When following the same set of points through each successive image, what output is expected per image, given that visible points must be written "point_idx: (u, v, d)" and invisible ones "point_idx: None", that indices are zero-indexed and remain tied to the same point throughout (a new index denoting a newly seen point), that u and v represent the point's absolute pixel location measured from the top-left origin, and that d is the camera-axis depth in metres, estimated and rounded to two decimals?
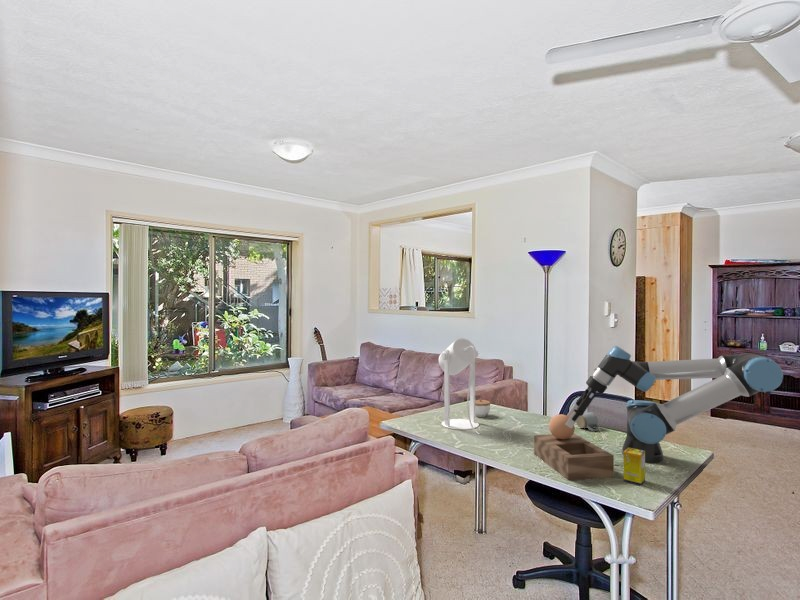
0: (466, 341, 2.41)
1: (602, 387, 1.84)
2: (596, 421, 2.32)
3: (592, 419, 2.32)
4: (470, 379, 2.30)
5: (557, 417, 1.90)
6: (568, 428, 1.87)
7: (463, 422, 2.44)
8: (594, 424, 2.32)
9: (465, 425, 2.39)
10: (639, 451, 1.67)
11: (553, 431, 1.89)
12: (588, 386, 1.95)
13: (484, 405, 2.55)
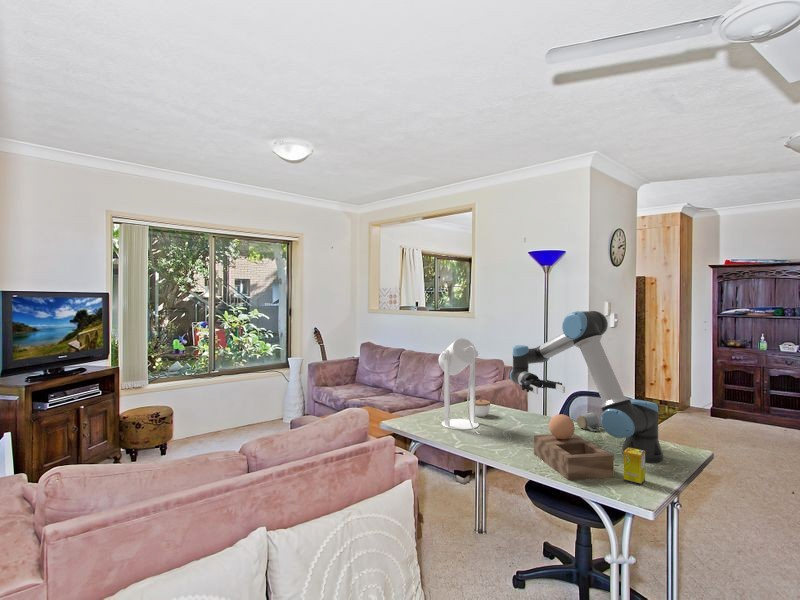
0: (466, 341, 2.41)
1: (523, 377, 2.21)
2: (597, 421, 2.32)
3: (593, 419, 2.31)
4: (470, 379, 2.30)
5: (557, 417, 1.90)
6: (568, 428, 1.87)
7: (463, 422, 2.44)
8: (595, 424, 2.32)
9: (465, 425, 2.39)
10: (639, 451, 1.67)
11: (553, 431, 1.89)
12: None
13: (484, 405, 2.55)
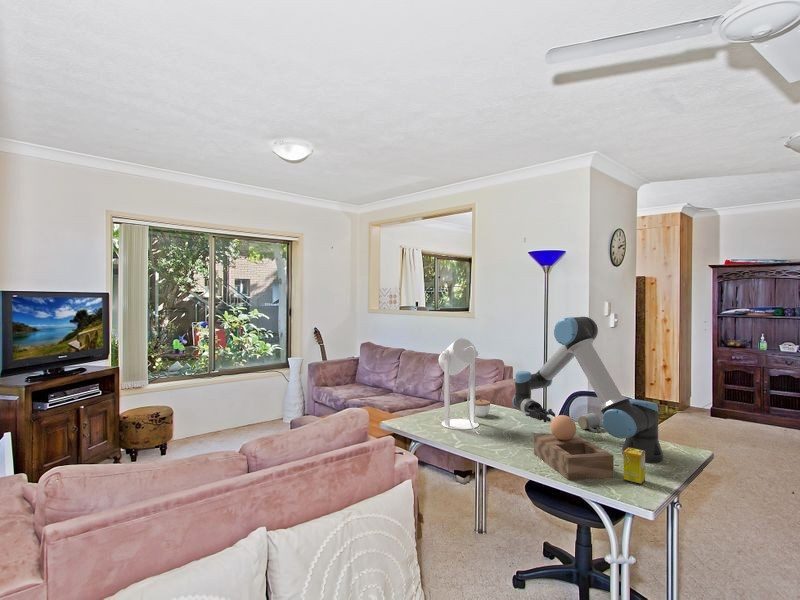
0: (466, 341, 2.41)
1: (526, 405, 2.17)
2: (598, 422, 2.31)
3: (594, 420, 2.31)
4: (470, 379, 2.30)
5: (560, 419, 1.88)
6: (570, 432, 1.85)
7: (463, 422, 2.44)
8: (596, 425, 2.31)
9: (465, 425, 2.39)
10: (639, 451, 1.67)
11: (554, 433, 1.88)
12: None
13: (484, 405, 2.55)
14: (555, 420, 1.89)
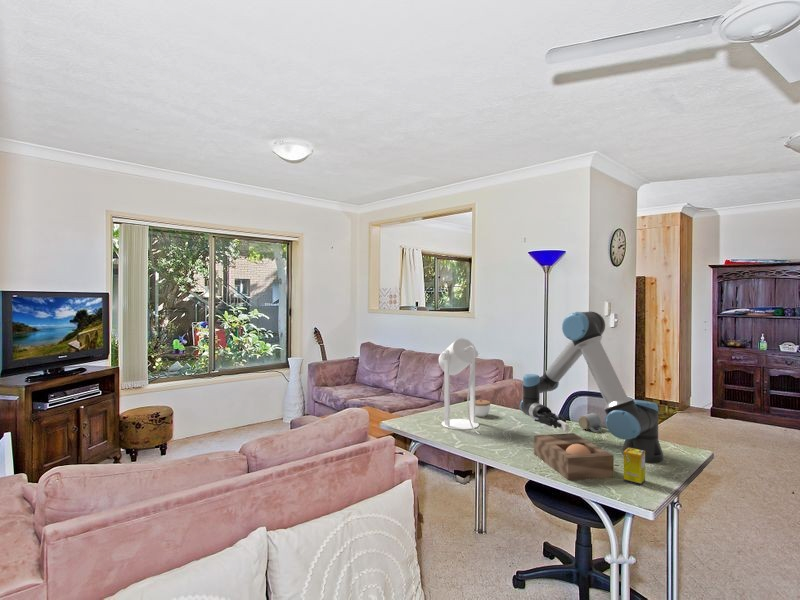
0: (466, 341, 2.41)
1: (534, 409, 2.08)
2: (599, 422, 2.31)
3: (595, 420, 2.30)
4: (470, 379, 2.30)
5: None
6: None
7: (463, 422, 2.44)
8: (597, 425, 2.30)
9: (465, 425, 2.39)
10: (639, 451, 1.67)
11: (566, 451, 1.79)
12: None
13: (484, 405, 2.55)
14: None
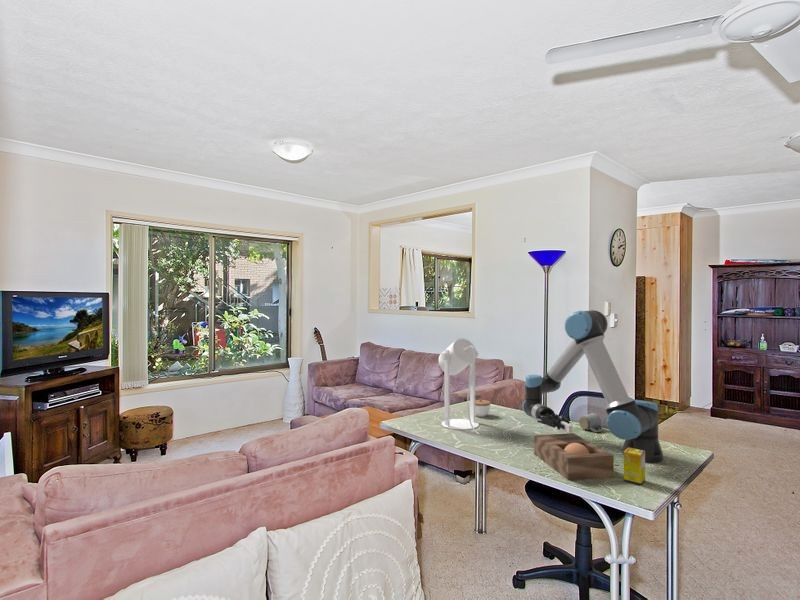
0: (466, 341, 2.41)
1: (537, 410, 2.06)
2: (599, 422, 2.30)
3: (595, 420, 2.30)
4: (470, 379, 2.30)
5: None
6: None
7: (463, 422, 2.44)
8: (597, 425, 2.30)
9: (465, 425, 2.39)
10: (639, 451, 1.67)
11: None
12: None
13: (484, 405, 2.55)
14: None
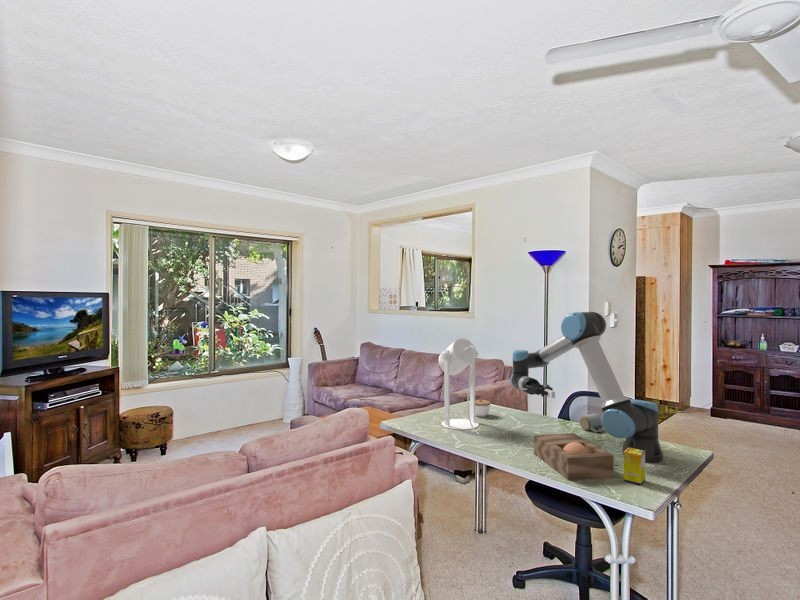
0: (466, 341, 2.41)
1: (523, 382, 2.20)
2: (600, 422, 2.30)
3: (596, 420, 2.29)
4: (470, 379, 2.30)
5: None
6: None
7: (463, 422, 2.44)
8: (598, 425, 2.30)
9: (465, 425, 2.39)
10: (639, 451, 1.67)
11: None
12: None
13: (484, 405, 2.55)
14: None
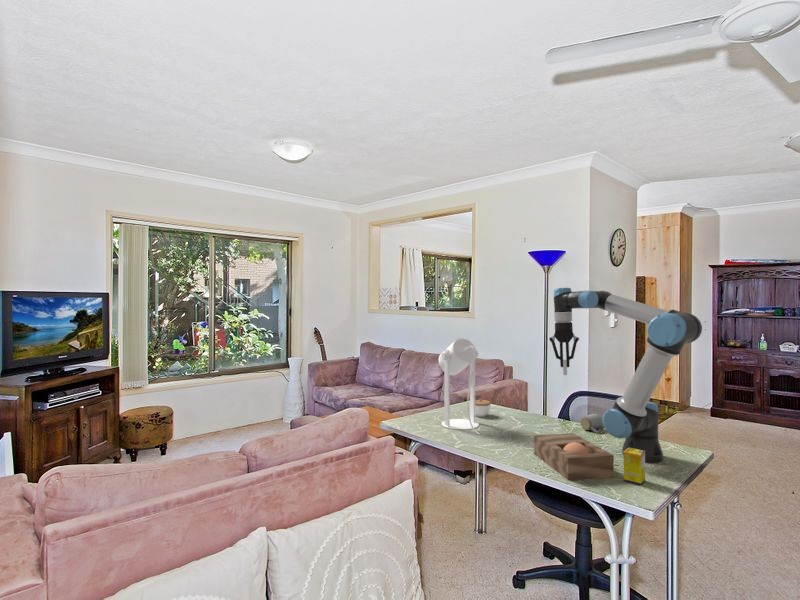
0: (466, 341, 2.41)
1: (555, 324, 2.09)
2: (601, 423, 2.29)
3: (597, 421, 2.29)
4: (470, 379, 2.30)
5: None
6: None
7: (463, 422, 2.44)
8: (599, 426, 2.29)
9: (465, 425, 2.39)
10: (639, 451, 1.67)
11: None
12: (577, 338, 2.09)
13: (484, 405, 2.55)
14: None
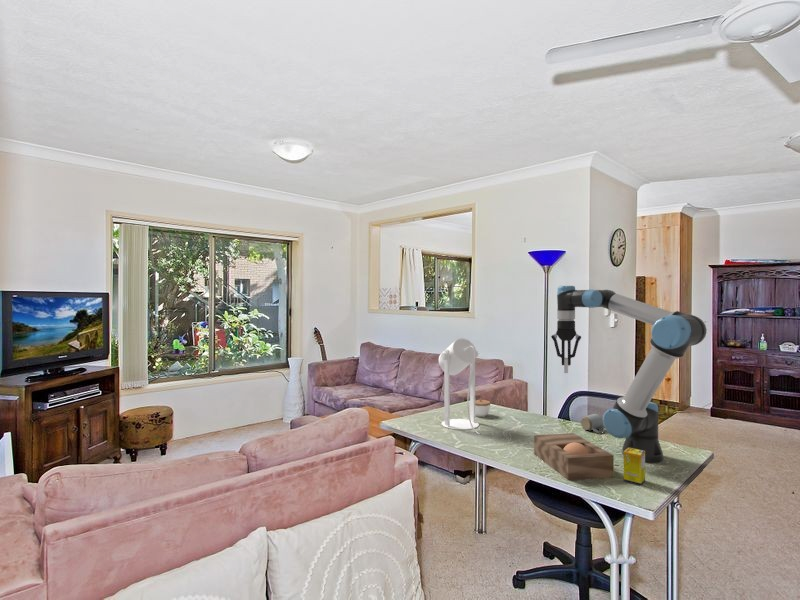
0: (466, 341, 2.41)
1: (558, 322, 2.08)
2: (601, 423, 2.29)
3: (597, 421, 2.29)
4: (470, 379, 2.30)
5: None
6: None
7: (463, 422, 2.44)
8: (599, 426, 2.29)
9: (465, 425, 2.39)
10: (639, 451, 1.67)
11: None
12: None
13: (484, 405, 2.55)
14: None
